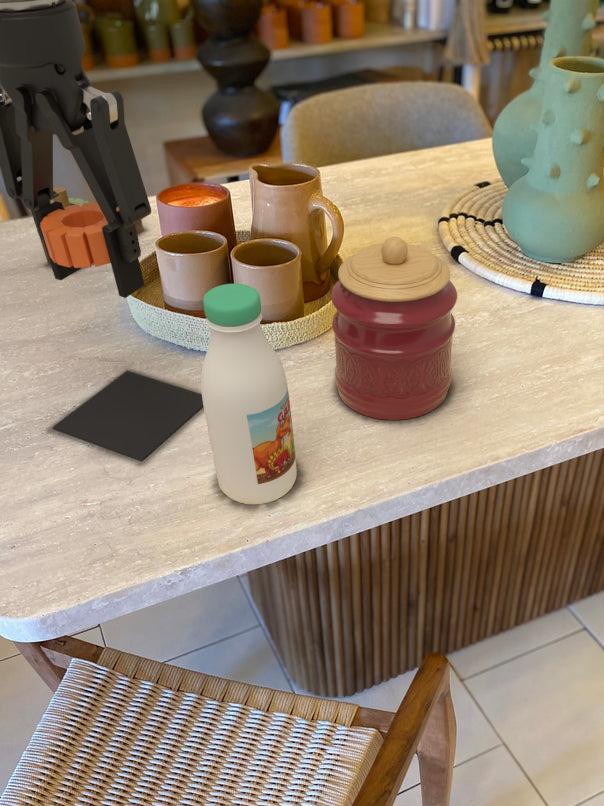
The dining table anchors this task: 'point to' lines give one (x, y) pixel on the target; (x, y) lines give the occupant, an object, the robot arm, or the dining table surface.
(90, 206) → the orange gear
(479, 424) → the dining table surface
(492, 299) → the dining table surface
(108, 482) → the dining table surface
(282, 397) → the milk bottle
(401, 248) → the kitchen canister
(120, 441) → the mat
